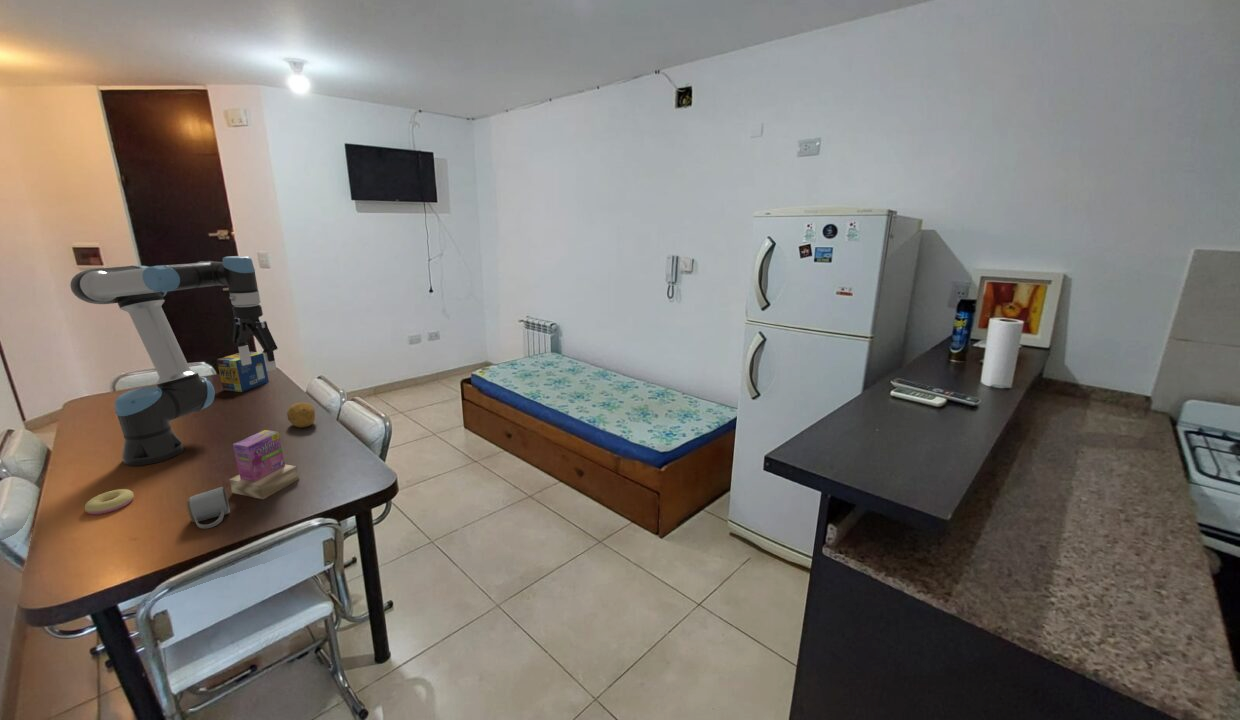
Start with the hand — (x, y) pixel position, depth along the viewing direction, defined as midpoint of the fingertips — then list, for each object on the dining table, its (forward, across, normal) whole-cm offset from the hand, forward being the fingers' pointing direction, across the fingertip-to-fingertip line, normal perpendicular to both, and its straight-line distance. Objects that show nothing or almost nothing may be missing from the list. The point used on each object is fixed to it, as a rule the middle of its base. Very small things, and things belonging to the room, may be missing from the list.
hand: (259, 367), depth 161 cm
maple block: (+32, +20, -15) cm, 41 cm away
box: (+27, +20, -15) cm, 37 cm away
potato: (+32, -14, +19) cm, 40 cm away
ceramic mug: (+32, +24, -32) cm, 51 cm away
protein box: (+32, -82, +36) cm, 95 cm away
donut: (+32, -8, -41) cm, 53 cm away
